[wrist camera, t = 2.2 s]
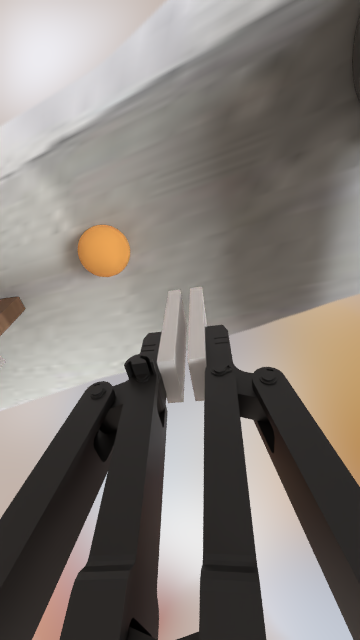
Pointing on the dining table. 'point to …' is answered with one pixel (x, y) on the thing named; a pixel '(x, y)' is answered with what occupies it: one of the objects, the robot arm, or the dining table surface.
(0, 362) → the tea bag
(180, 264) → the dining table surface
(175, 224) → the dining table surface
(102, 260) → the ball
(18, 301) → the bridge
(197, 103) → the dining table surface
